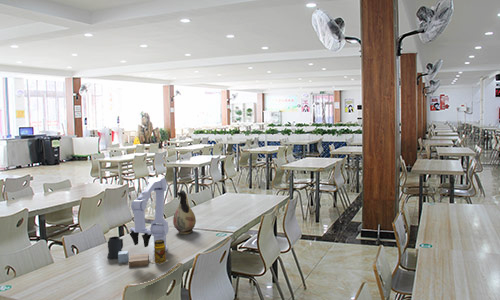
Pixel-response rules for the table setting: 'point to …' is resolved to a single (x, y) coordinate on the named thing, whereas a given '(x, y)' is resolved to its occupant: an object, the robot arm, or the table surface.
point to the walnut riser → (138, 260)
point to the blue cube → (123, 256)
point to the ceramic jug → (184, 216)
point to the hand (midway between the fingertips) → (141, 245)
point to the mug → (114, 247)
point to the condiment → (159, 252)
